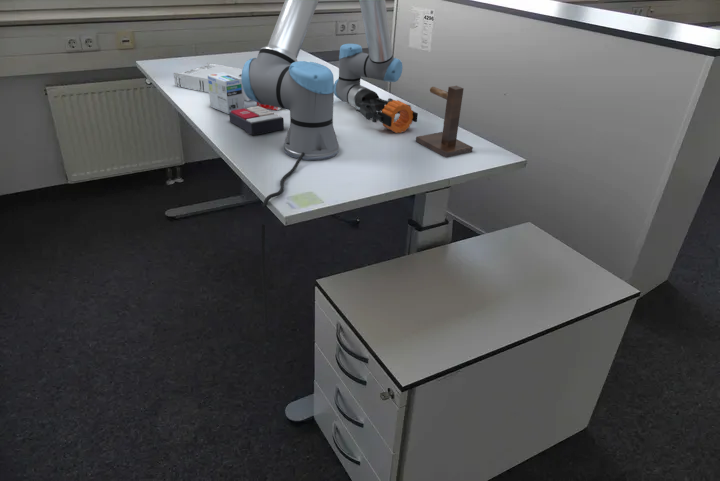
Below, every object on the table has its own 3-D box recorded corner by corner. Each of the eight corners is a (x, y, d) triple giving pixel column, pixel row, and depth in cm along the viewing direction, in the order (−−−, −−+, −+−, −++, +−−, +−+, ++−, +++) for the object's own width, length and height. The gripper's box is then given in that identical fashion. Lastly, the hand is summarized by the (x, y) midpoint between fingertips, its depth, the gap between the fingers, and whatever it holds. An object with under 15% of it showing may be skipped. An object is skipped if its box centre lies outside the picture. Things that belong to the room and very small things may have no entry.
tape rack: (472, 151, 163) (481, 90, 154) (445, 157, 158) (454, 94, 149) (438, 134, 174) (445, 76, 165) (412, 139, 169) (418, 79, 160)
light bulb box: (245, 111, 185) (243, 78, 179) (228, 115, 180) (225, 81, 175) (226, 103, 191) (223, 71, 185) (209, 107, 186) (206, 74, 181)
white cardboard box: (208, 75, 220) (207, 62, 218) (279, 89, 208) (278, 75, 206) (175, 86, 205) (173, 72, 203) (249, 101, 194) (248, 87, 191)
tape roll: (388, 135, 171) (390, 106, 167) (379, 130, 175) (381, 101, 170) (412, 130, 176) (414, 102, 171) (403, 126, 179) (405, 98, 175)
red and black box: (259, 104, 179) (283, 115, 169) (260, 117, 181) (284, 129, 171) (228, 109, 173) (251, 121, 163) (229, 123, 175) (252, 135, 165)
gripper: (389, 106, 194) (430, 126, 178) (335, 114, 183) (373, 136, 167) (391, 84, 190) (433, 103, 174) (336, 92, 179) (374, 112, 163)
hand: (403, 119), depth 170 cm, fingers closed on tape roll, 9 cm apart
